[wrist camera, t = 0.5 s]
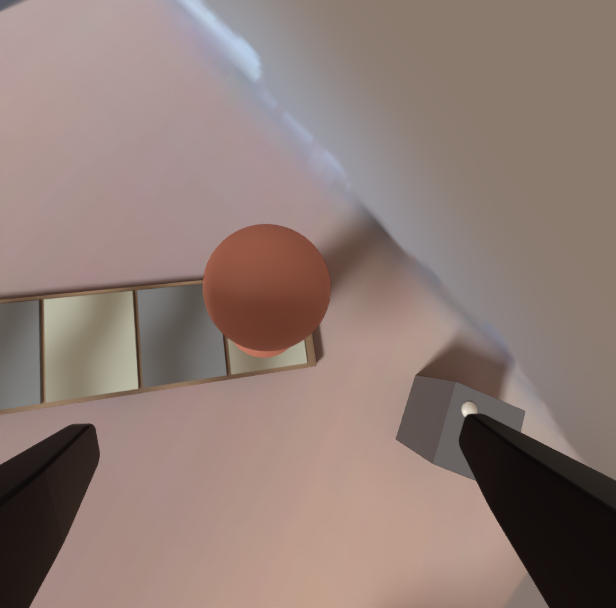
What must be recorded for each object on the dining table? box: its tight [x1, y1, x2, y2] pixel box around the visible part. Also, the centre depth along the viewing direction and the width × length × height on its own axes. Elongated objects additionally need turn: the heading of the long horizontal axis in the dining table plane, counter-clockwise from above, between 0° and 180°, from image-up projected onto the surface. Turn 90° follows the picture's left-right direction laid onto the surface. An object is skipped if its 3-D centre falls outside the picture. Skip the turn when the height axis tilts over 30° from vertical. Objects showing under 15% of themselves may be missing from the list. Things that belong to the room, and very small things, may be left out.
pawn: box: [203, 224, 331, 358], centre depth 14 cm, size 5×5×14 cm
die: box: [396, 375, 525, 481], centre depth 20 cm, size 5×5×5 cm
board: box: [0, 280, 316, 415], centre depth 20 cm, size 23×7×1 cm, turn 98°
